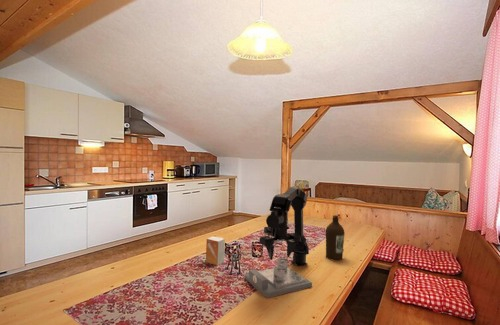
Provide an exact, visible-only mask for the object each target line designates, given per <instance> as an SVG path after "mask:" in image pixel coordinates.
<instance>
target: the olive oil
mask: <svg viewBox="0 0 500 325" xmlns="http://www.w3.org/2000/svg"><path fill="white" fill-rule="evenodd" d="M339 220H340V218H339V215H337V214H333V215H332V221H331V222H330V224H328V225H327V226H326V229H325V257H326V258H327V259H328V260H332V261H342V260H343V255H344V250H345V249H344V245H345V244H344V242H345V236H346V235H345V234H346V233H345V229H344V227H343V226H342V224H340V222H339Z"/></svg>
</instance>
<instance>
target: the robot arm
mask: <svg viewBox="0 0 500 325" xmlns="http://www.w3.org/2000/svg"><path fill="white" fill-rule="evenodd" d="M307 201H308V197H307V194H306V193H305V192H304V190H301V188H300V187H298V186H290V187H289V188H288V189H287V190H286V191H284V193H278V194H275V195H274V196H273V198H272V201H271V204H270V207H269V211H270V214H269V215H267V217H266V219H265V221H266V226H264V227H263V233H264V234H265V235H264V236H260V237H259V243H260V244H261V245H262V246H264V247H265V248H266V251H267V254H268V257H269V259H270V261H272V260H273V259H274V251H275V245H274V243H278V242H284V241H286V257H288V258H290V256H291V254H292V253H293V255H292V260H291V263H292V264H293V265H296V266H298V267H303V266H306V265H307V266H308V263H307V255H309V254H310V253H309V252H310V249H309V245H308V242H307V238H306V236H305V235H304V208H305V207H306V204H307ZM291 208H292V209H293V211H294V212H293V216H294V218H293V219H294V222H293V224H294V225H293V226H294V232H289V233H288V230H289V229H290V226H288V218H289V217H288V216H289V215H288V213H289V211H290V209H291Z"/></svg>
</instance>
